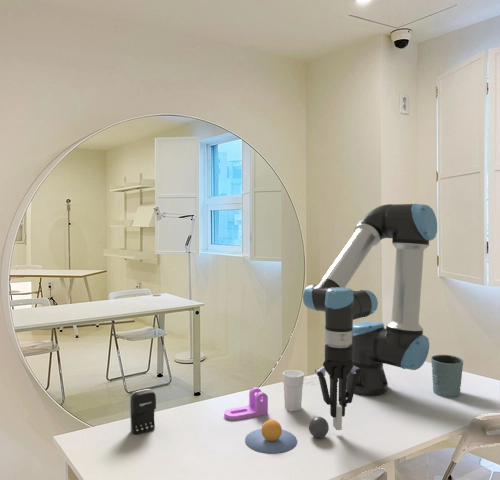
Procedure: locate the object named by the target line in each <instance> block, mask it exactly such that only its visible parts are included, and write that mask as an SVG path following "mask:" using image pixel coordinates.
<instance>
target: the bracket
mask: <svg viewBox="0 0 500 480" xmlns="http://www.w3.org/2000/svg"><path fill="white" fill-rule="evenodd" d="M248 396H249V399H248V401H249V402H248V405H244V406H238V407H232V408H229V409H226V410H224V411H223V412H224V413H223V414H224V416H223V417H224V419H226V420H229V421H238V420H243V419H249V418H254V417H255V418H256V417H259V416H266V415H268V414H269V413H268V412H269V405H268V404H269V397H268V395H267V394H266V393H265V392H264V391H262V390H261V389H260V388H259V387H257V386H254V387H252V388H251V389H250V390H249V395H248Z"/></svg>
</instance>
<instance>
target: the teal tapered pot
mask: <svg viewBox="0 0 500 480" xmlns="http://www.w3.org/2000/svg"><path fill="white" fill-rule="evenodd" d="M430 359H431V367H432V368H431V369H432V370H431V374H432V391H433V393H434V394H435V395H436V396H439V397H442V398H449V399H453V398H458V397H460V395H461V387H462V376H463V368H464V359H463V358H461V357H458V356H456V355H450V354H434V355H432V356H431V358H430Z"/></svg>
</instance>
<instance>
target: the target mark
mask: <svg viewBox="0 0 500 480" xmlns="http://www.w3.org/2000/svg"><path fill="white" fill-rule="evenodd" d="M261 429H262V428H258V429H255V430H253V431H250V432H249V433H248V434H246V436H245V438H244V439H245V441H244V442H245V445H246V446H247V447H248V448H250V449H252V450H253V451H256V452H259V453H264V454H279V453H280V454H282V453H284V452H288V451H291V450H293V449H294V448H295V447H296V445H297V443H298V439H297V437H296V436H295V434H293V433H292V432H290V431H288V430H285V429H282V433H281V436H280V437H279V439H277V440H276V441H268V440H266V439H265V438H264V437H263V435H262V430H261Z"/></svg>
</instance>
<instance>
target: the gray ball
mask: <svg viewBox="0 0 500 480" xmlns="http://www.w3.org/2000/svg"><path fill="white" fill-rule="evenodd" d="M329 427H330V426H329V423H328V421H327V420H326V419H325V418H324V417H323V416H314V417H313V418H311V419H310V421H309V423H308V431H309V433H310V435H311V436H313V437H314V438H316V439H322V438H324V437H326V436H327V435H328V433H329V431H330V430H329V429H330V428H329Z"/></svg>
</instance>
